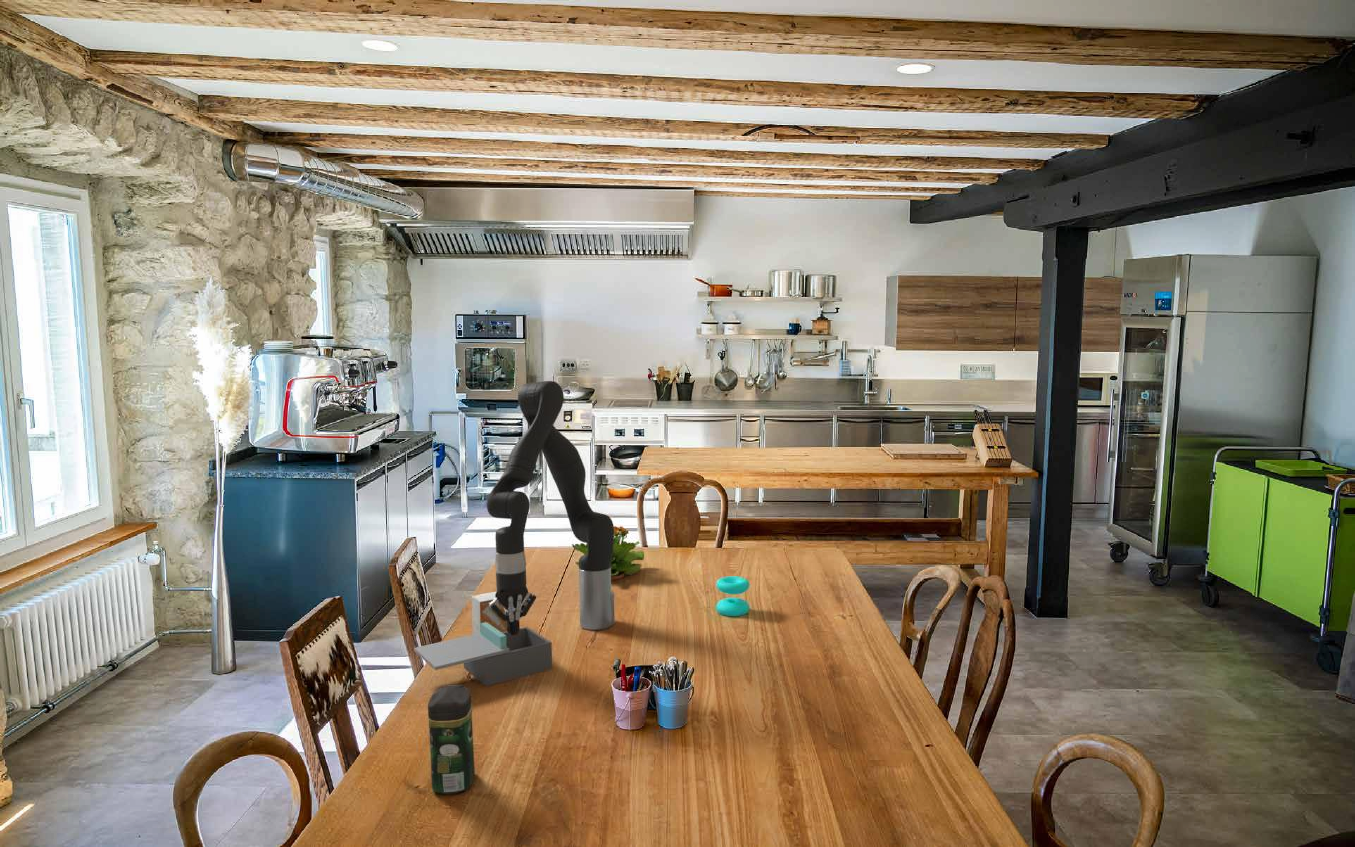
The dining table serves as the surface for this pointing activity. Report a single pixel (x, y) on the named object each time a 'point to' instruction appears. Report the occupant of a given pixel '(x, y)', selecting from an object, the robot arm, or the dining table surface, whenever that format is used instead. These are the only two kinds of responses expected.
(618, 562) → the potted flower
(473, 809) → the dining table surface
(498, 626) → the small box
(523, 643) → the base
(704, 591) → the dining table surface
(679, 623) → the dining table surface
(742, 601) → the donuts
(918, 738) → the dining table surface
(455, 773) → the coffee jar
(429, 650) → the lid
